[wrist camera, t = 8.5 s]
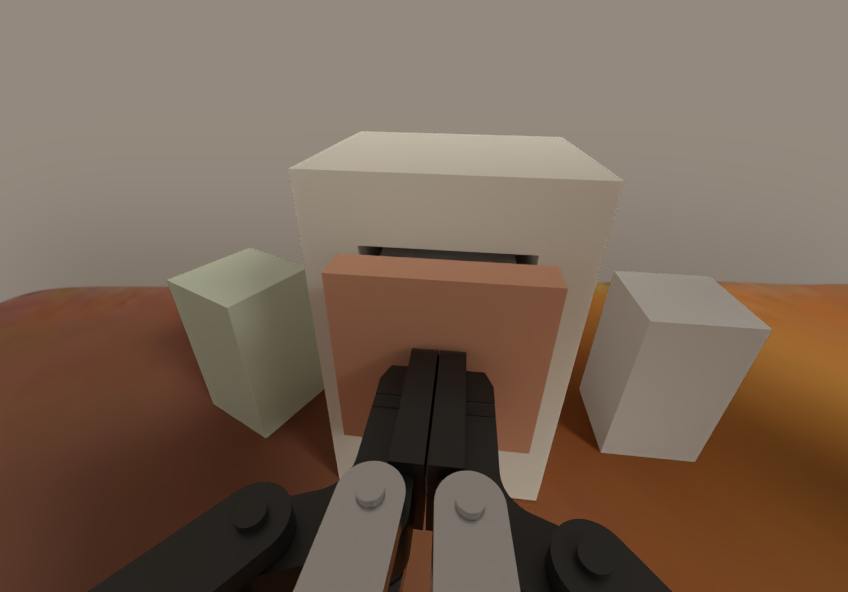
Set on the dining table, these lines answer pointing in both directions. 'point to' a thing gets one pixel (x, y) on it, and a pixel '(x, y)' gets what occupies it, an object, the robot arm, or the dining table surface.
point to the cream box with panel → (460, 236)
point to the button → (445, 326)
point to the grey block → (666, 363)
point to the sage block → (252, 336)
